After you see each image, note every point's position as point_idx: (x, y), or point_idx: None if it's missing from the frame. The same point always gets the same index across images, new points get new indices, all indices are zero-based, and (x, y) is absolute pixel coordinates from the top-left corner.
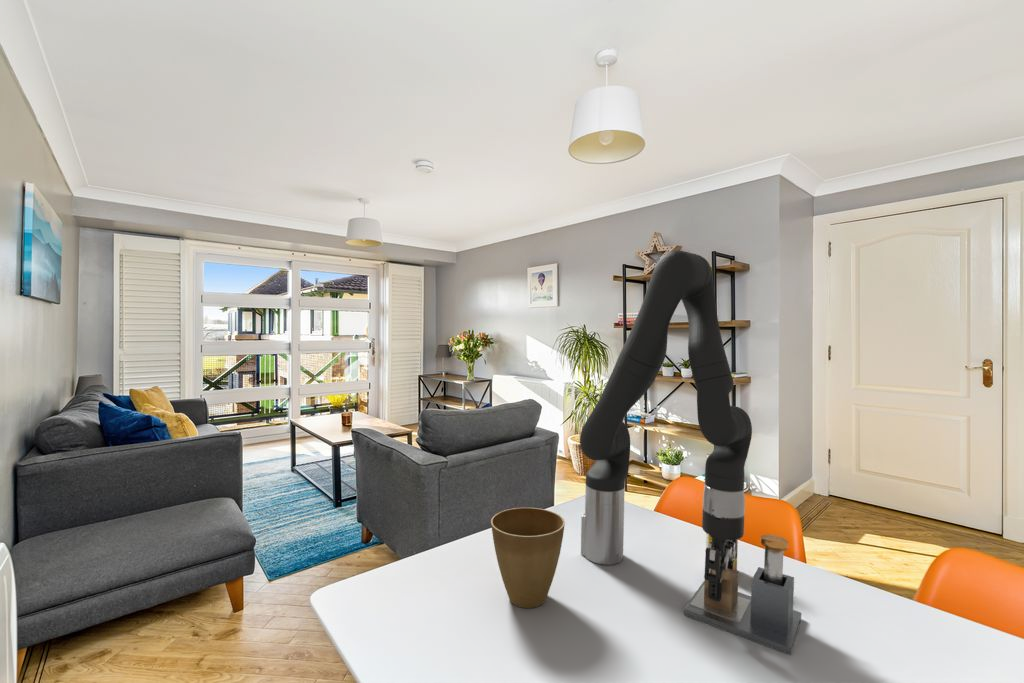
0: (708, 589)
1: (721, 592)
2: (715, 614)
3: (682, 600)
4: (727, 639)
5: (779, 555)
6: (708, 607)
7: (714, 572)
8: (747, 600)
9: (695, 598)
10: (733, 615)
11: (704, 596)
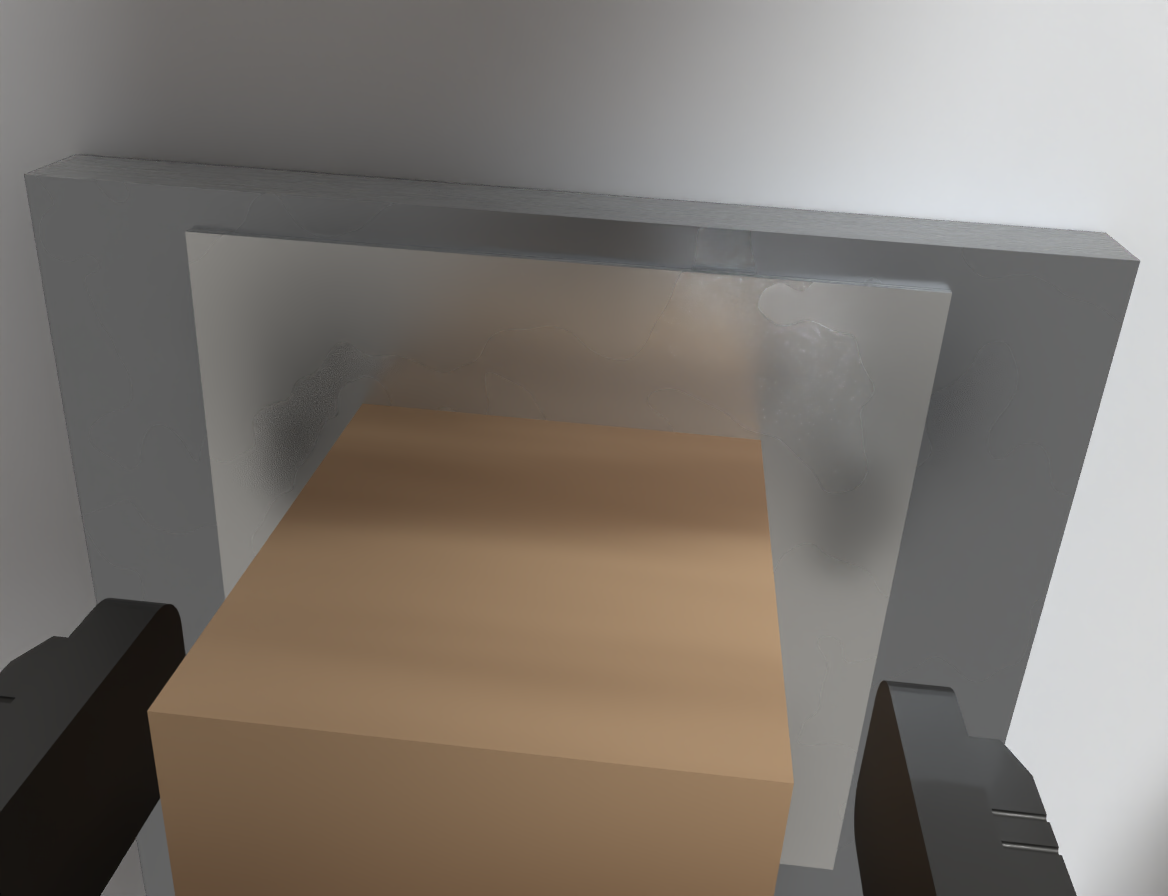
0: (40, 673)
1: (126, 841)
2: (215, 565)
3: (438, 27)
4: None
5: None
6: (293, 475)
7: (335, 868)
8: (809, 843)
9: (404, 269)
10: None
11: (333, 453)
